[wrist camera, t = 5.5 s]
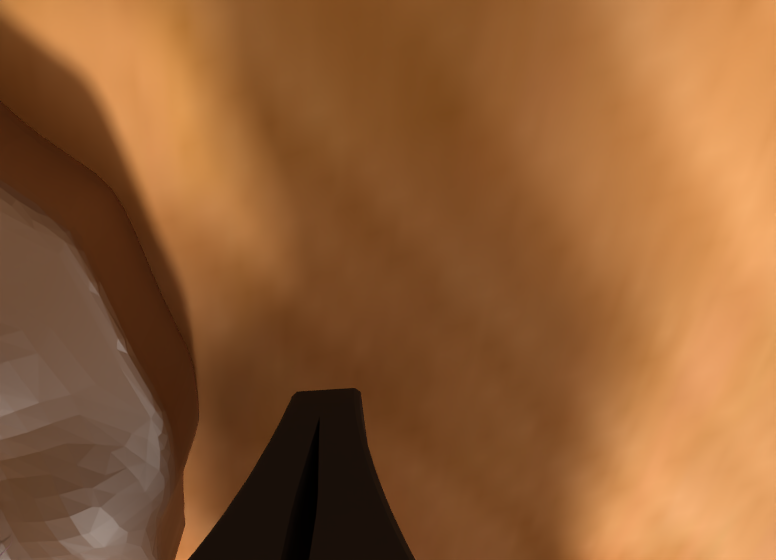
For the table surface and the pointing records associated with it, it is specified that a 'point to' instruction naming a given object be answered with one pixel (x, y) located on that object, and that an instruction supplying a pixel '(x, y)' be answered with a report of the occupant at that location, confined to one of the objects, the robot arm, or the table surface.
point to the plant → (84, 370)
